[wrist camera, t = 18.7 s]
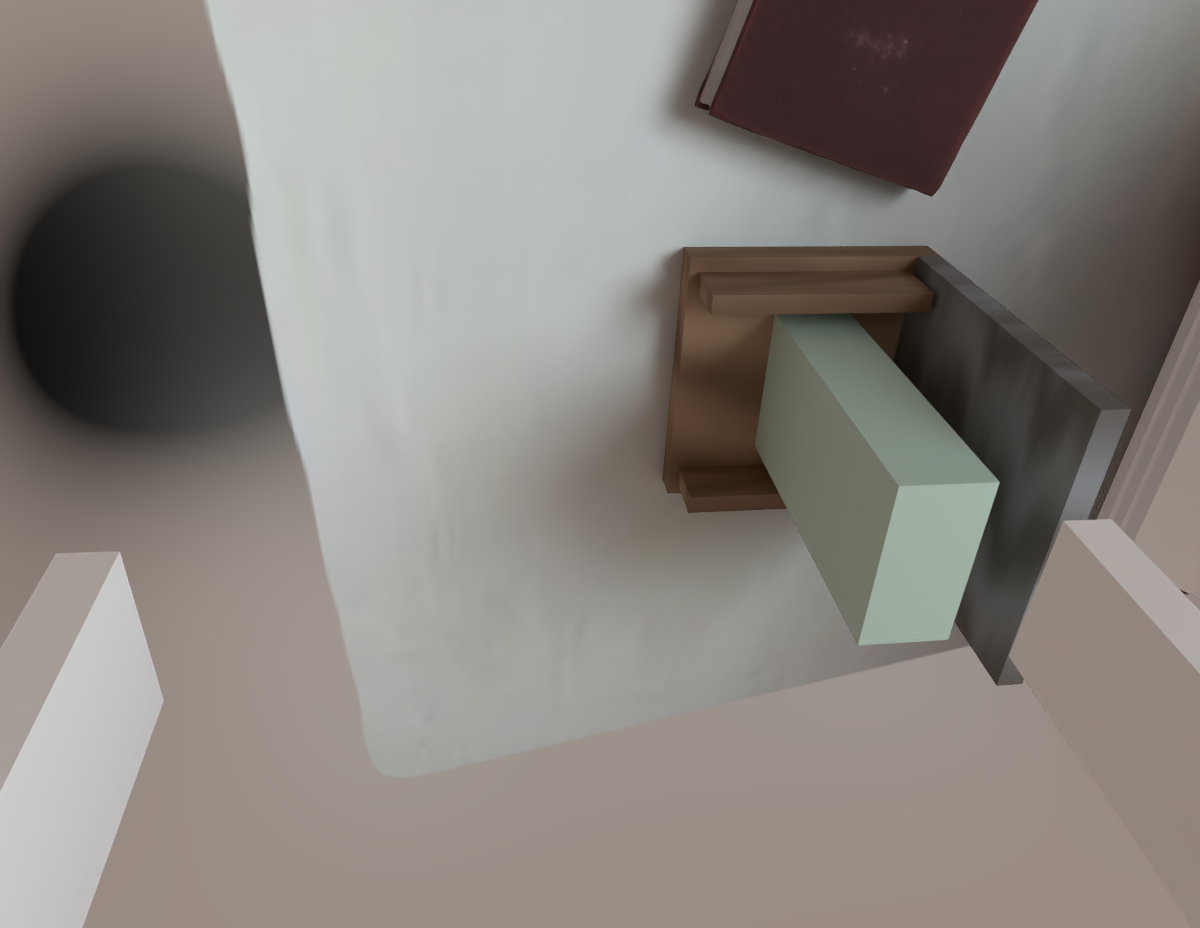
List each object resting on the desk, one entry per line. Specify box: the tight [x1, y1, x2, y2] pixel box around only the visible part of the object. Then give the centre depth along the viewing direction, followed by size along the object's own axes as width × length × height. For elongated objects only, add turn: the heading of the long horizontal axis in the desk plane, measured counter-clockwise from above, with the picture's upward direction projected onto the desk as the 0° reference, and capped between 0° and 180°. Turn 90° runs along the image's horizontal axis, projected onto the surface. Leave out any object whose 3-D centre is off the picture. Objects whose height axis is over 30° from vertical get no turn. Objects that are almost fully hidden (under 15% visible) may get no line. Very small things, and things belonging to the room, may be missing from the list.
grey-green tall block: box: [755, 313, 1000, 645], centre depth 43 cm, size 8×4×16 cm, turn 178°
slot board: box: [663, 246, 1131, 685], centre depth 44 cm, size 14×13×18 cm
